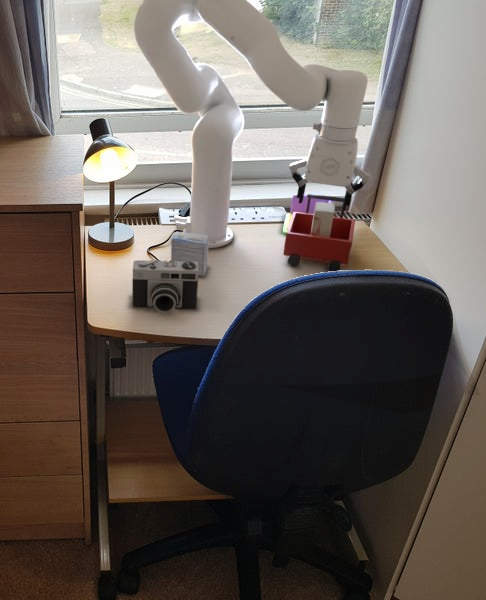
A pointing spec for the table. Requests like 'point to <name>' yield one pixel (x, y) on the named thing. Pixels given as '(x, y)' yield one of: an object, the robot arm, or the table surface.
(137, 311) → the table surface
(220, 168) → the robot arm
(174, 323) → the table surface
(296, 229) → the cart
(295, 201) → the miniature room corner
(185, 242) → the medicine box
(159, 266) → the camera
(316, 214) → the white carton box
